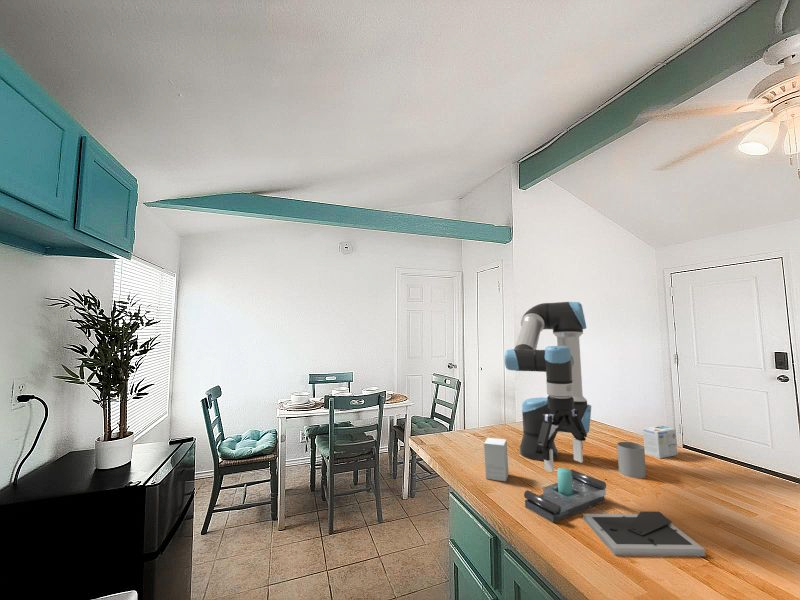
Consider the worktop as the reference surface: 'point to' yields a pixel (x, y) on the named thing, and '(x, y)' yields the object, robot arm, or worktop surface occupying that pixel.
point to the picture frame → (642, 535)
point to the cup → (631, 459)
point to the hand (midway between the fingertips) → (564, 465)
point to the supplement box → (496, 459)
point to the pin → (564, 481)
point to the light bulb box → (660, 441)
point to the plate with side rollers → (567, 498)
